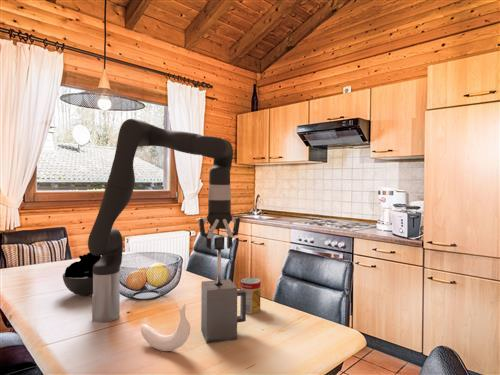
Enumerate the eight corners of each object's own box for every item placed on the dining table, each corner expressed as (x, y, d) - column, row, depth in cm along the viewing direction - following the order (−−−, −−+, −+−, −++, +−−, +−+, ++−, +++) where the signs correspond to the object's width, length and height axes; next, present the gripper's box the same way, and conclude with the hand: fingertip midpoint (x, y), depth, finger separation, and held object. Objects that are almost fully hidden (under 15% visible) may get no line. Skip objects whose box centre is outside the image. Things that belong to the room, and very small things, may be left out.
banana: (144, 339, 114) (144, 294, 113) (194, 351, 106) (194, 303, 106) (133, 346, 109) (133, 299, 109) (185, 359, 102) (185, 309, 101)
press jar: (206, 343, 111) (207, 290, 111) (201, 330, 121) (201, 281, 120) (249, 337, 115) (249, 286, 115) (240, 325, 125) (240, 278, 125)
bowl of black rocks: (87, 305, 143) (86, 259, 143) (51, 298, 151) (51, 255, 150) (121, 291, 162) (121, 250, 162) (89, 285, 169) (88, 247, 169)
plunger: (215, 292, 115) (215, 237, 114) (212, 289, 118) (213, 236, 118) (225, 291, 116) (225, 237, 116) (222, 288, 119) (223, 235, 119)
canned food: (262, 308, 142) (263, 278, 142) (256, 315, 135) (257, 284, 134) (244, 305, 145) (244, 276, 144) (237, 312, 137) (237, 282, 137)
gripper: (199, 199, 111) (199, 252, 111) (243, 198, 115) (243, 249, 115) (196, 198, 118) (195, 247, 118) (237, 197, 122) (236, 245, 122)
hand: (219, 248), depth 117 cm, fingers open, 6 cm apart
